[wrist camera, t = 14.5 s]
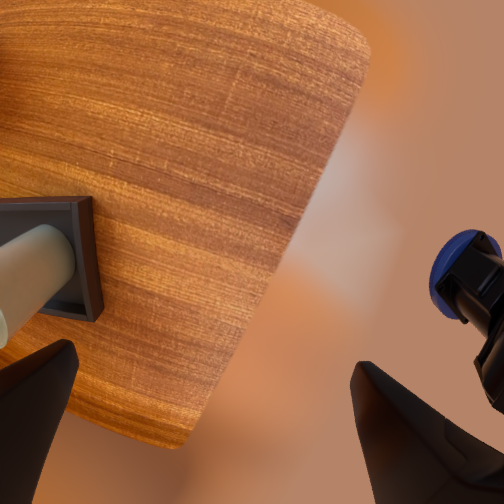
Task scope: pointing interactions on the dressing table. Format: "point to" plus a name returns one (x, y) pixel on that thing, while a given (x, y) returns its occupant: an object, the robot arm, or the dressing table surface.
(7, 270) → the bottle
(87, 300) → the tray
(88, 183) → the dressing table surface
